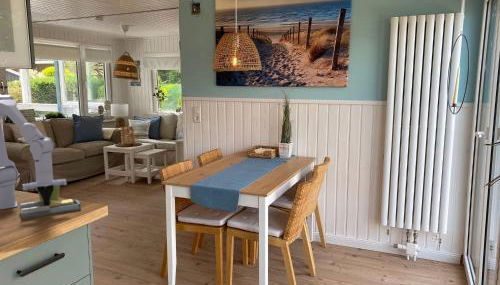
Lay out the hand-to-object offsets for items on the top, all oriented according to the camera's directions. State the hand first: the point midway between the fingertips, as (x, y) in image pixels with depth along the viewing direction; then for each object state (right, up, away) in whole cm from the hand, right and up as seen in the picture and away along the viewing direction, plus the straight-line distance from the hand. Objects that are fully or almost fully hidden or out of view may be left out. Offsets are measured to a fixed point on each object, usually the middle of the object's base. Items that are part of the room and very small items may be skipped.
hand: (46, 205), depth 148 cm
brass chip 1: (+2, -1, +1) cm, 3 cm away
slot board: (-3, -3, -2) cm, 5 cm away
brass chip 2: (+6, -1, +4) cm, 7 cm away
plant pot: (-4, -1, +9) cm, 10 cm away
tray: (+5, -2, +4) cm, 6 cm away
